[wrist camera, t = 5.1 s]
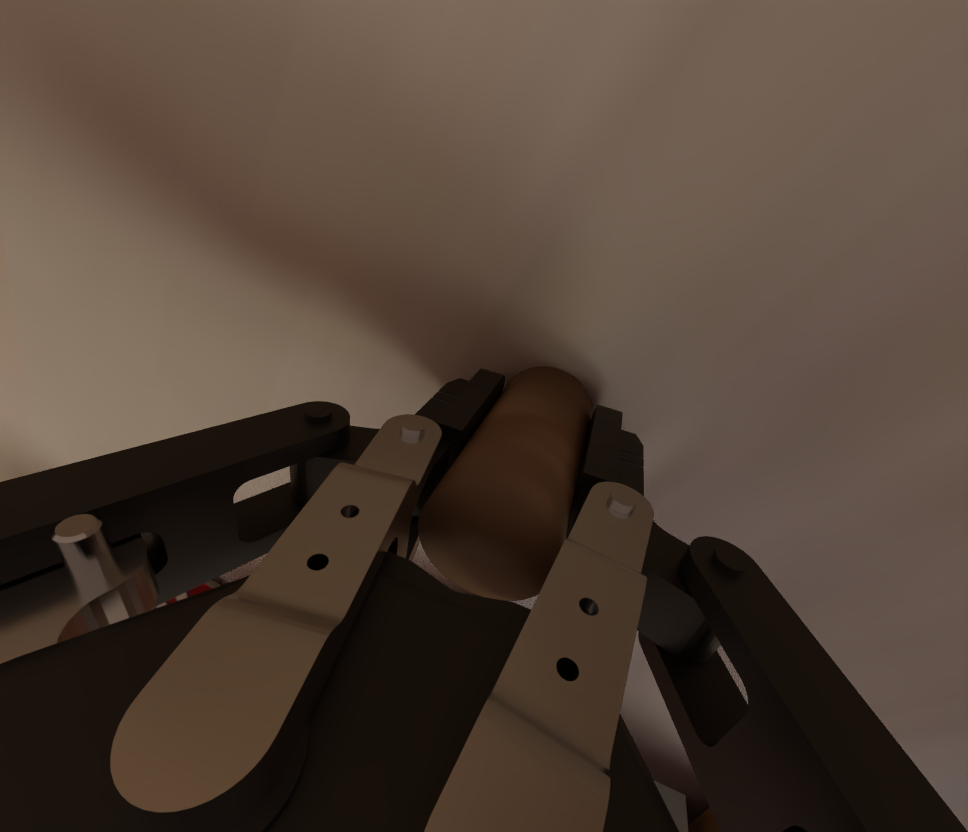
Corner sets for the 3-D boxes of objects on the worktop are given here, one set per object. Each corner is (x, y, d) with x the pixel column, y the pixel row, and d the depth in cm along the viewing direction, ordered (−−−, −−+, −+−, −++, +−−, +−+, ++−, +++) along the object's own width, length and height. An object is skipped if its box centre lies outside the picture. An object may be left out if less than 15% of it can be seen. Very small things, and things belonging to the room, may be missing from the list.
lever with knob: (643, 394, 12) (645, 542, 7) (516, 695, 20) (475, 862, 15) (477, 345, 13) (371, 444, 8) (421, 652, 21) (352, 796, 16)
